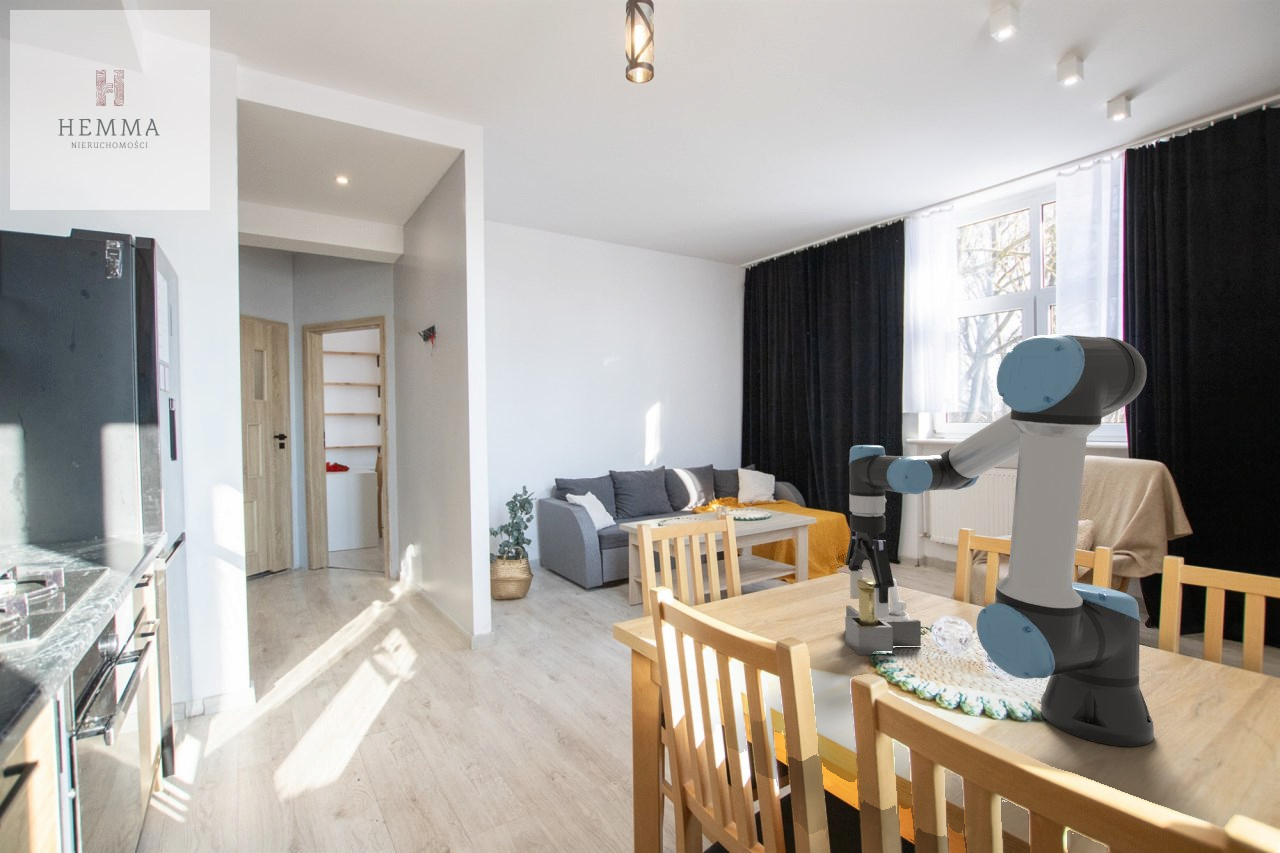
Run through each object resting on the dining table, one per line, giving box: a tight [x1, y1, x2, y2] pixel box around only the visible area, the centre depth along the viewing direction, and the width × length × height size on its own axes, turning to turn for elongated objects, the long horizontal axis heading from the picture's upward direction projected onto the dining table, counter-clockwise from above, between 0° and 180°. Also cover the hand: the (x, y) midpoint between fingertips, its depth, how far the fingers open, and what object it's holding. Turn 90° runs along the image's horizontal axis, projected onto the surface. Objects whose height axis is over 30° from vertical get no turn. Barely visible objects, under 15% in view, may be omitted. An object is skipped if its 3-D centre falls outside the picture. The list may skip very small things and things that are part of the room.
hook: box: [881, 578, 912, 621], centre depth 157 cm, size 8×12×7 cm
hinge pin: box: [857, 578, 878, 626], centre depth 135 cm, size 5×5×15 cm
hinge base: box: [844, 605, 922, 656], centre depth 139 cm, size 16×16×6 cm
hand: (868, 607), depth 135 cm, fingers open, 13 cm apart
